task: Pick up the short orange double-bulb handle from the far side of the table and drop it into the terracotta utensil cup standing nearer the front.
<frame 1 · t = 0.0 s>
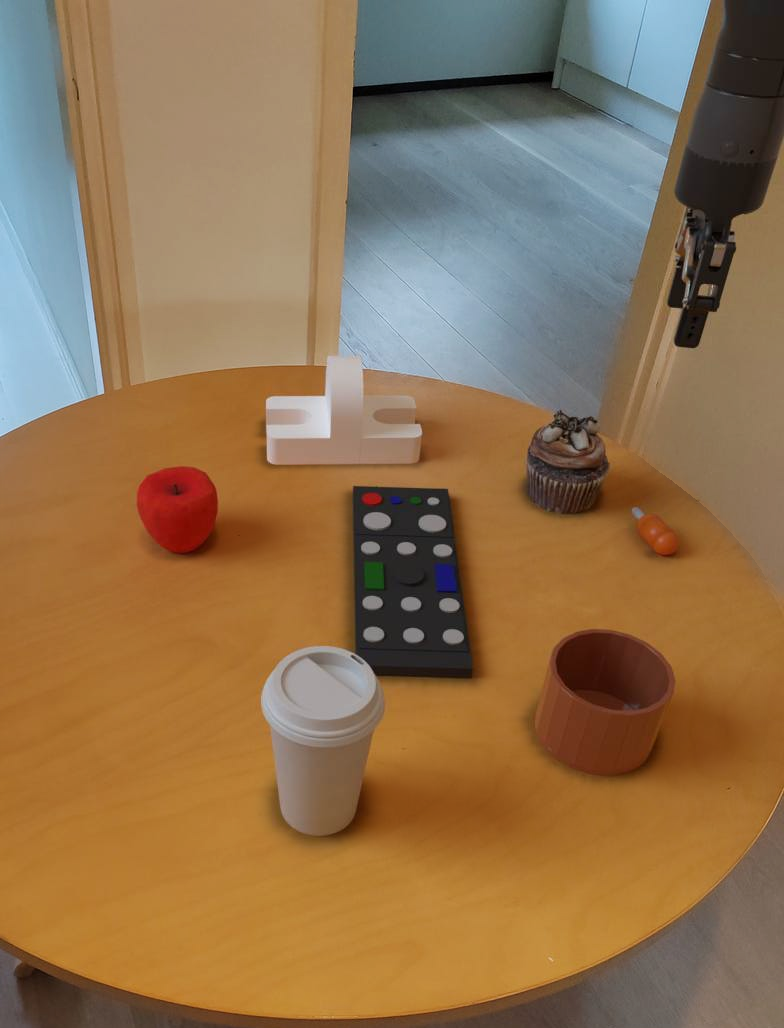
hand: (681, 325, 97), 26 cm above the table, tool pointing down, fingers open, 8 cm apart
utensil cup: (592, 731, 94), on the table
apple: (180, 542, 114), on the table
coffee cup: (318, 806, 87), on the table
bracket: (341, 444, 130), on the table
remote control: (405, 580, 110), on the table
cupcake: (559, 496, 122), on the table
orange double-bulb handle: (649, 539, 116), on the table
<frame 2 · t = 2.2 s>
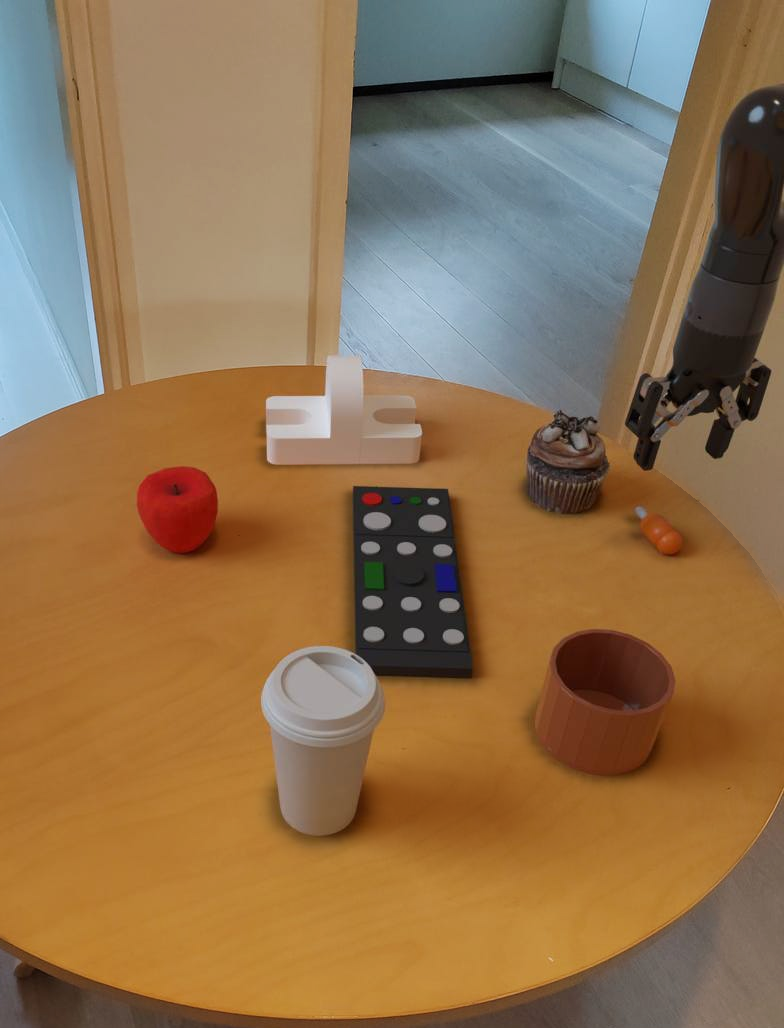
hand: (678, 460, 108), 11 cm above the table, tool pointing down, fingers open, 8 cm apart
orange double-bulb handle: (649, 538, 116), on the table, tilted 19°
everything else where it was.
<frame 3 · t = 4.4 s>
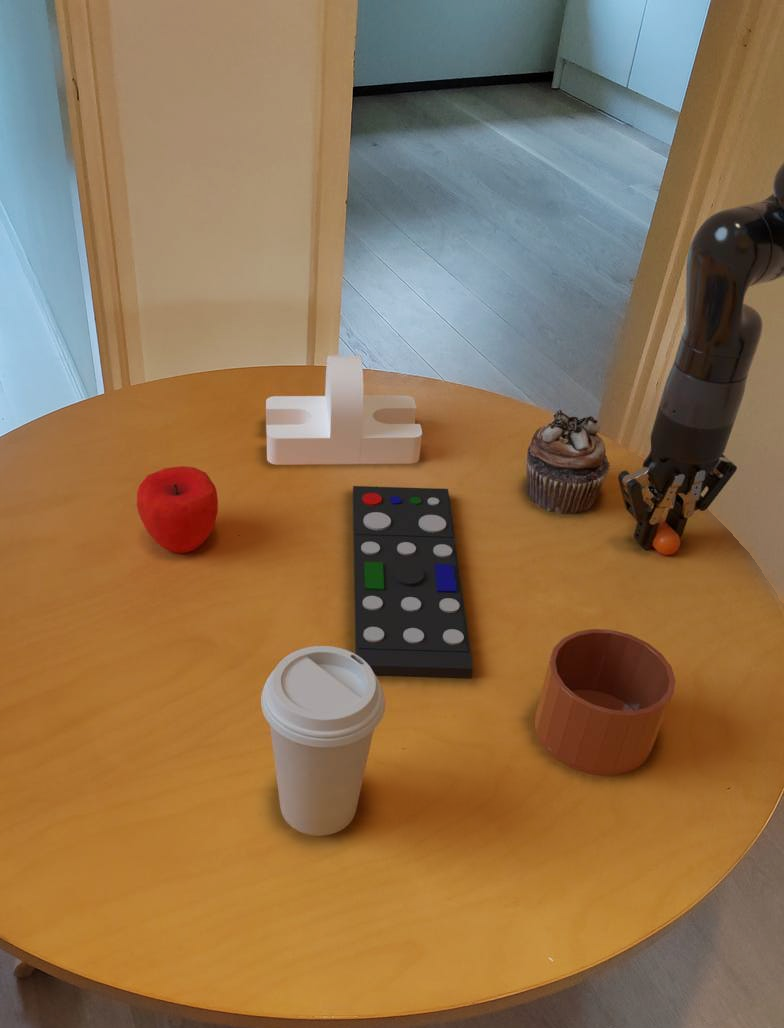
hand: (656, 541, 115), 0 cm above the table, tool pointing down, fingers closed on orange double-bulb handle, 2 cm apart
orange double-bulb handle: (645, 537, 116), on the table, tilted 38°, touching gripper
everything else where it was.
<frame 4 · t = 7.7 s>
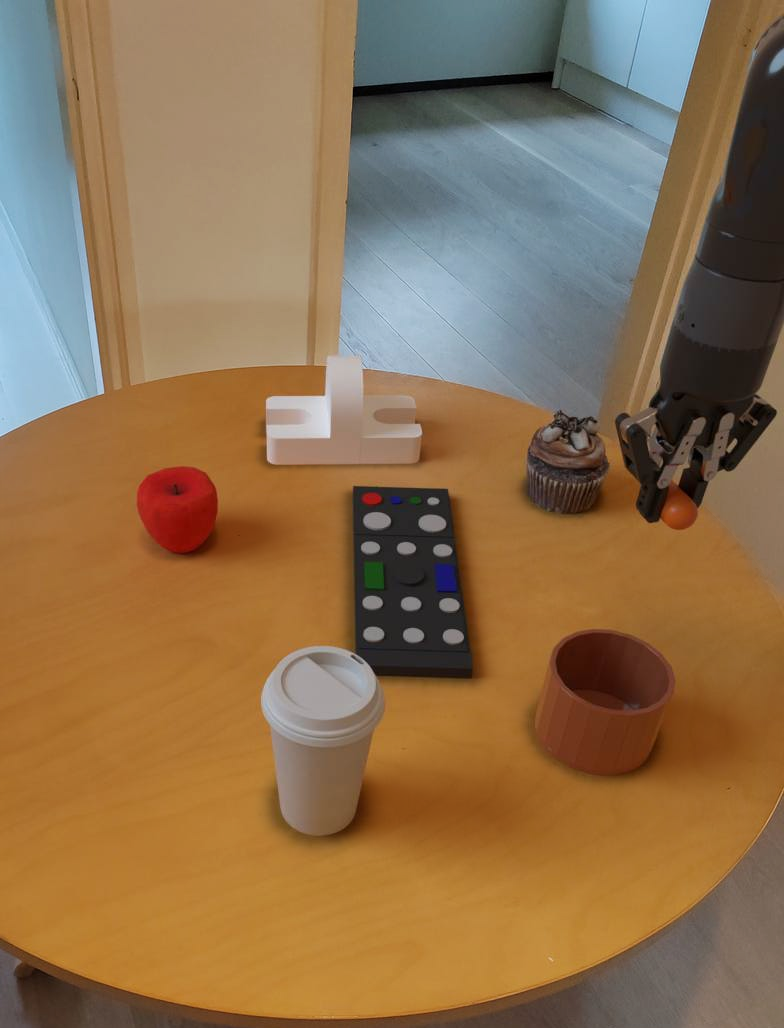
hand: (665, 513, 87), 19 cm above the table, tool pointing down, fingers closed on orange double-bulb handle, 2 cm apart
orange double-bulb handle: (650, 507, 87), point 19 cm above the table, tilted 39°, touching gripper
everything else where it was.
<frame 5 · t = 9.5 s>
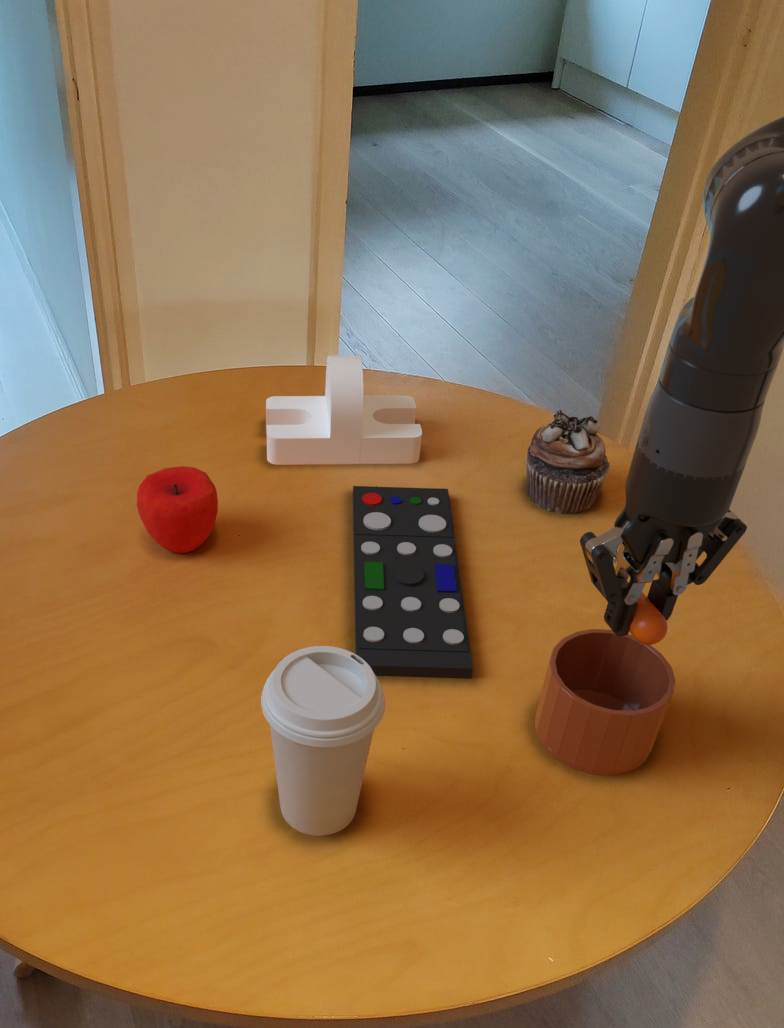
hand: (634, 625, 84), 14 cm above the table, tool pointing down, fingers closed on orange double-bulb handle, 2 cm apart
orange double-bulb handle: (619, 618, 84), point 14 cm above the table, tilted 38°, touching gripper
everything else where it was.
when the fingers open (10 cm above the table, at t = 11.0 s): orange double-bulb handle drops 9 cm, resting on utensil cup.
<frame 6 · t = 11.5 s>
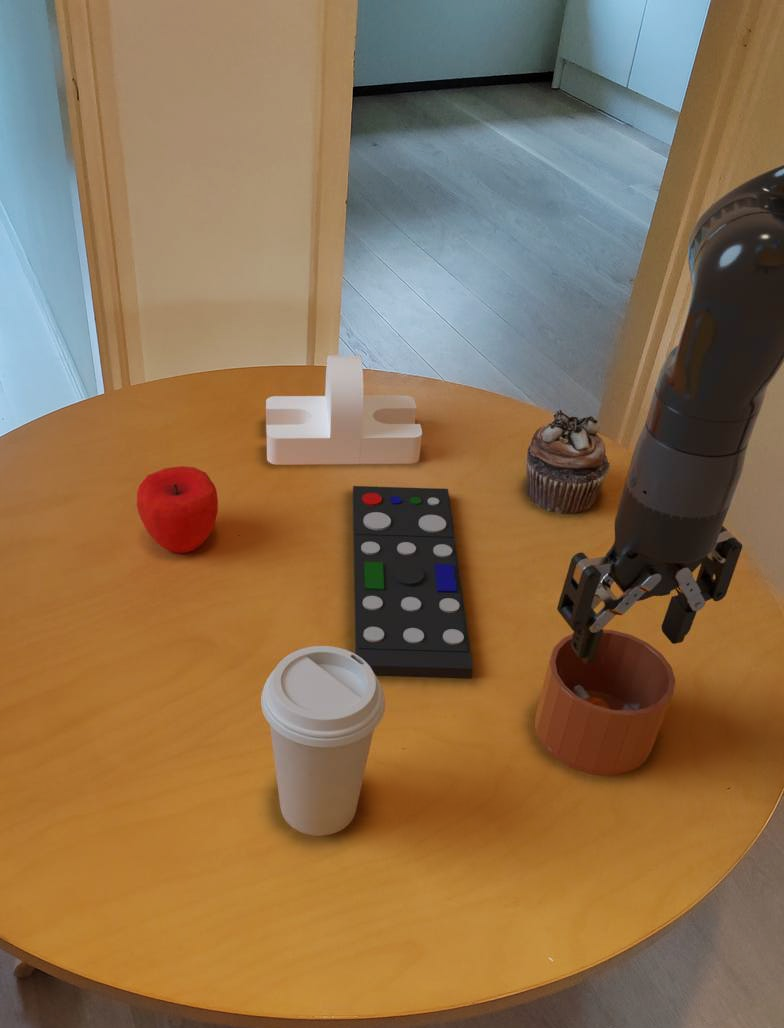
hand: (627, 646, 85), 12 cm above the table, tool pointing down, fingers open, 8 cm apart
utensil cup: (592, 731, 94), on the table, touching orange double-bulb handle
orange double-bulb handle: (586, 727, 93), point 1 cm above the table, tilted 39°, touching utensil cup
everything else where it was.
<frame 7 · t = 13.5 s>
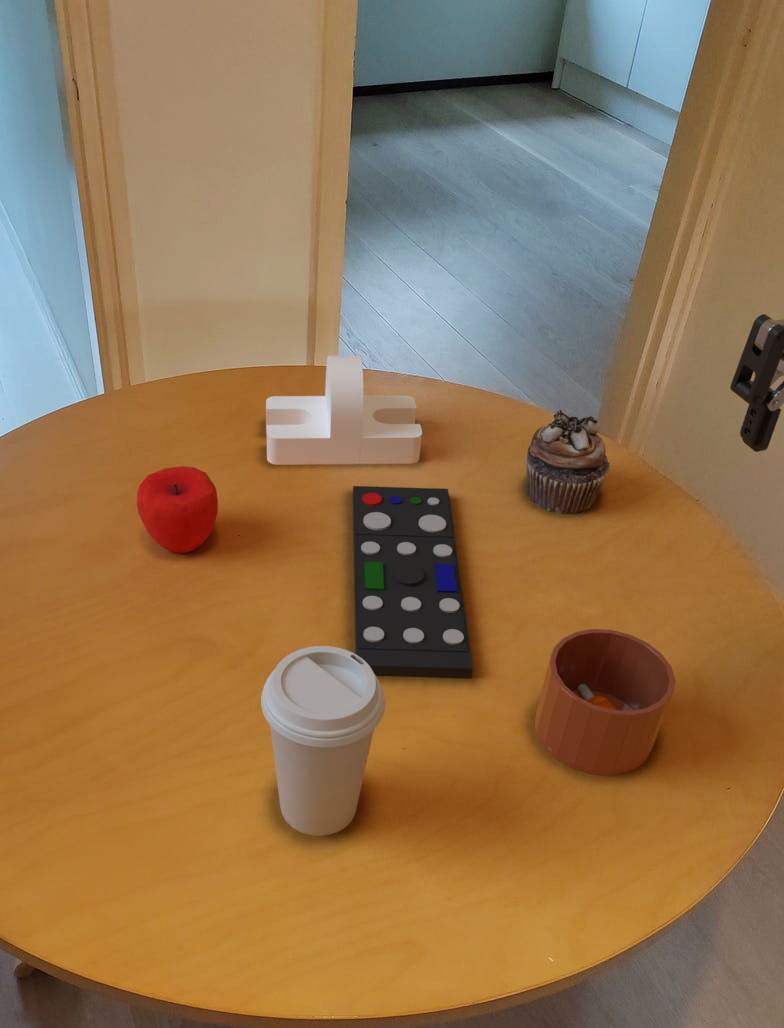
orange double-bulb handle: (588, 724, 93), point 1 cm above the table, tilted 58°, touching utensil cup
everything else where it was.
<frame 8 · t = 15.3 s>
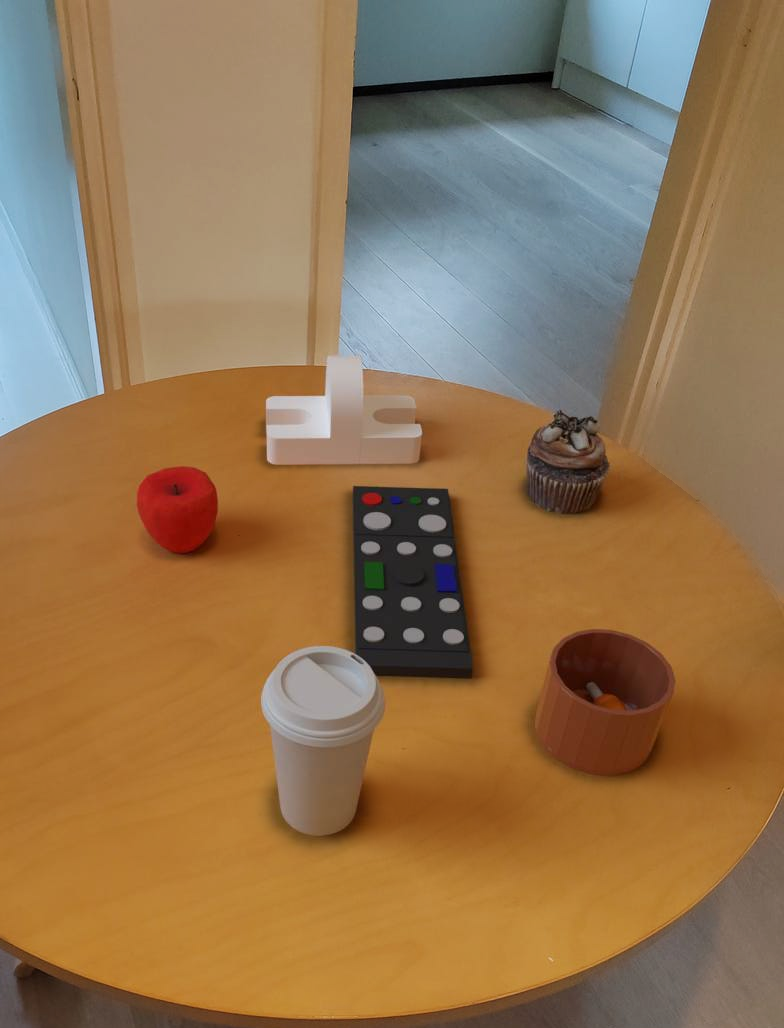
orange double-bulb handle: (597, 716, 93), point 2 cm above the table, tilted 94°, touching utensil cup
everything else where it was.
at the end: orange double-bulb handle inside the target area in the utensil cup (0.0 cm from its centre), point 2.1 cm above the utensil cup's base; the gripper is holding nothing; utensil cup tilted 0° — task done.
